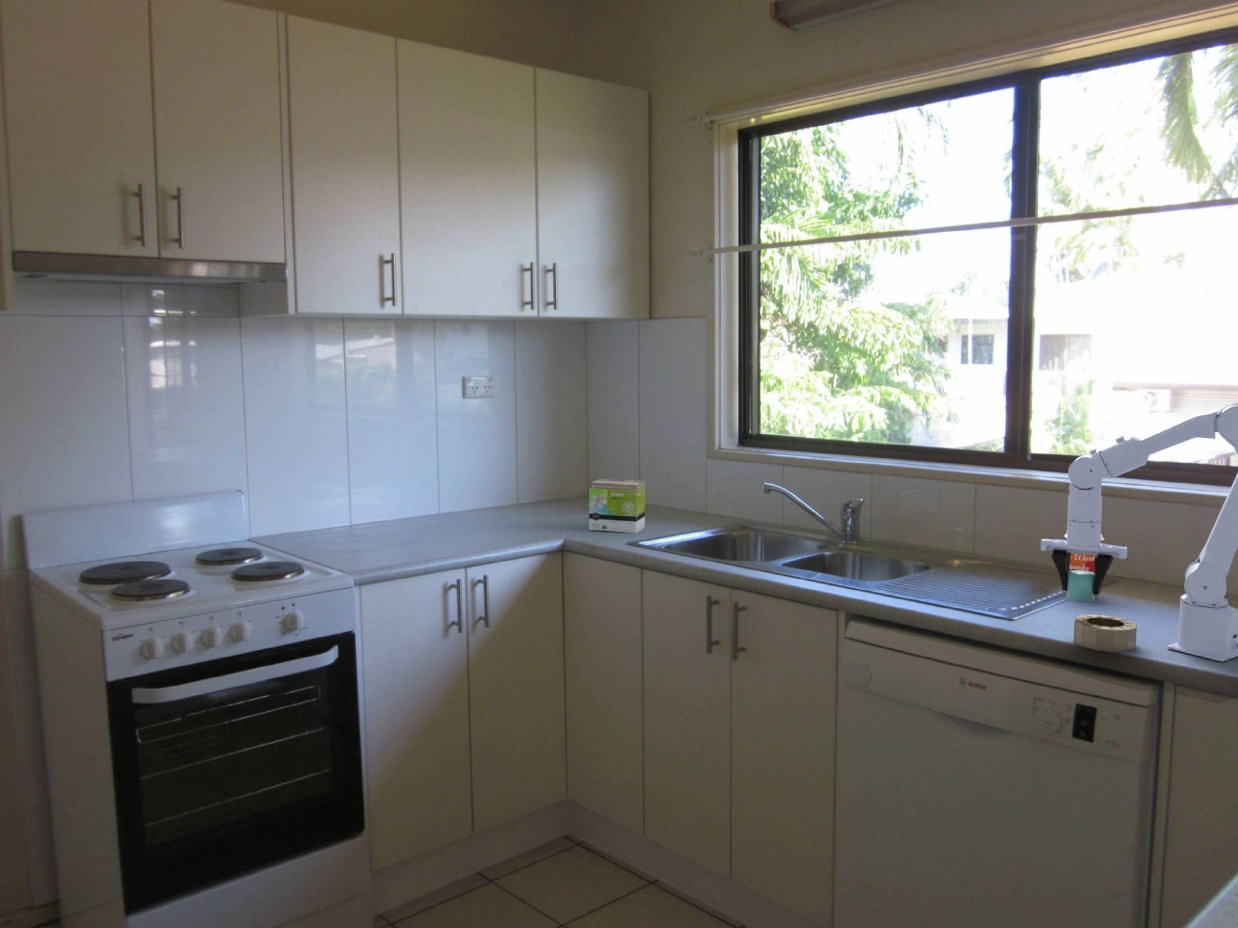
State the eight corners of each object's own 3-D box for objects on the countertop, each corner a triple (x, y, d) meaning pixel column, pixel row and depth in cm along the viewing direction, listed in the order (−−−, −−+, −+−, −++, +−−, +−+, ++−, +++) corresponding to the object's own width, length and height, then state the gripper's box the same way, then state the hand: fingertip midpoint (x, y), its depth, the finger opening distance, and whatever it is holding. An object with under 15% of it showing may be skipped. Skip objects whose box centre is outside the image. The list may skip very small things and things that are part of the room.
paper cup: (1055, 594, 215) (1059, 531, 213) (1069, 588, 220) (1072, 526, 219) (1093, 600, 209) (1096, 536, 208) (1106, 594, 215) (1109, 531, 213)
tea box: (588, 531, 292) (587, 482, 290) (598, 525, 302) (598, 477, 300) (636, 533, 288) (636, 483, 286) (645, 527, 297) (645, 479, 296)
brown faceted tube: (1146, 645, 178) (1148, 624, 177) (1115, 655, 172) (1116, 633, 172) (1093, 632, 186) (1094, 611, 186) (1062, 641, 181) (1063, 620, 180)
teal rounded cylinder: (1100, 600, 183) (1101, 573, 183) (1085, 603, 181) (1086, 577, 180) (1076, 594, 187) (1077, 569, 187) (1061, 598, 185) (1062, 572, 184)
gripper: (1131, 520, 181) (1128, 592, 183) (1048, 513, 190) (1045, 582, 191) (1124, 526, 176) (1120, 600, 177) (1038, 518, 184) (1036, 589, 186)
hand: (1081, 591), depth 184 cm, fingers closed on teal rounded cylinder, 5 cm apart
